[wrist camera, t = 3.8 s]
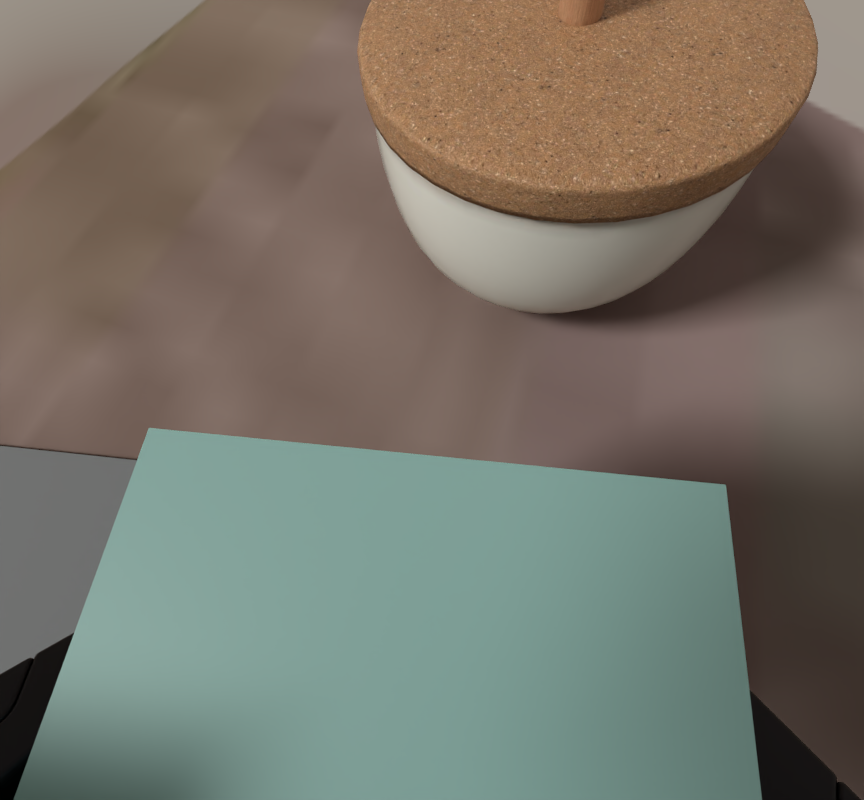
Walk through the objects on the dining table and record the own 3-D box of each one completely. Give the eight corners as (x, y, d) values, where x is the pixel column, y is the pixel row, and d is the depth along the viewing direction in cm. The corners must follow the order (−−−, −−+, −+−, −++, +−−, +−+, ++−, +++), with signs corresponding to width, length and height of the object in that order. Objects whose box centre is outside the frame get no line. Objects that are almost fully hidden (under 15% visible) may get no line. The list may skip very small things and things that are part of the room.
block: (532, 736, 12) (817, 1281, 2) (342, 707, 13) (-82, 1057, 3) (537, 573, 14) (727, 484, 4) (368, 552, 15) (149, 427, 4)
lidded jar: (341, 286, 18) (235, 5, 10) (483, 113, 22) (495, -212, 13) (606, 422, 16) (779, 198, 7) (723, 201, 19) (939, -138, 10)
